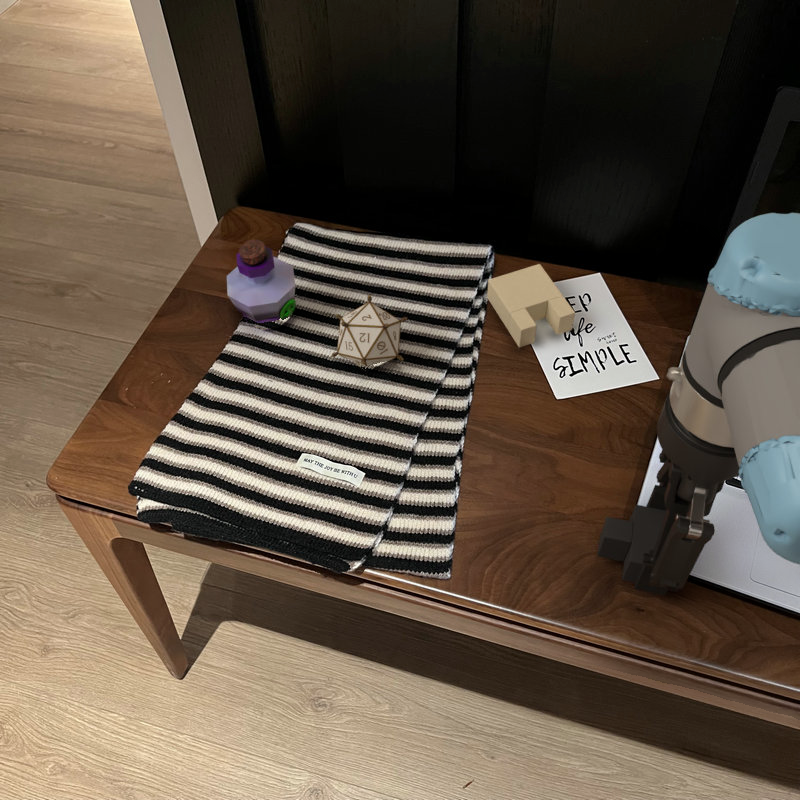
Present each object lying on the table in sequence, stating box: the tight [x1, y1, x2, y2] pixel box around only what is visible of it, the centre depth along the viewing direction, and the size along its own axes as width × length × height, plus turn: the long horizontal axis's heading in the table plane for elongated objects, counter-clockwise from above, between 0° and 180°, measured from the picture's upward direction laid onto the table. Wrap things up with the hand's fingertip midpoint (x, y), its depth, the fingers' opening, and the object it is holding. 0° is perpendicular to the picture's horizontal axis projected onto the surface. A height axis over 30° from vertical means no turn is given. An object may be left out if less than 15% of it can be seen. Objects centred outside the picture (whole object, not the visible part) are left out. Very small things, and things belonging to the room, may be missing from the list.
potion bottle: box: [226, 238, 297, 323], centre depth 93 cm, size 9×9×12 cm
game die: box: [330, 293, 408, 370], centre depth 90 cm, size 9×8×10 cm
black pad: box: [597, 504, 680, 593], centre depth 73 cm, size 8×6×4 cm
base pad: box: [486, 263, 576, 348], centre depth 94 cm, size 9×7×4 cm
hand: (652, 556), depth 74 cm, fingers closed on black pad, 6 cm apart
